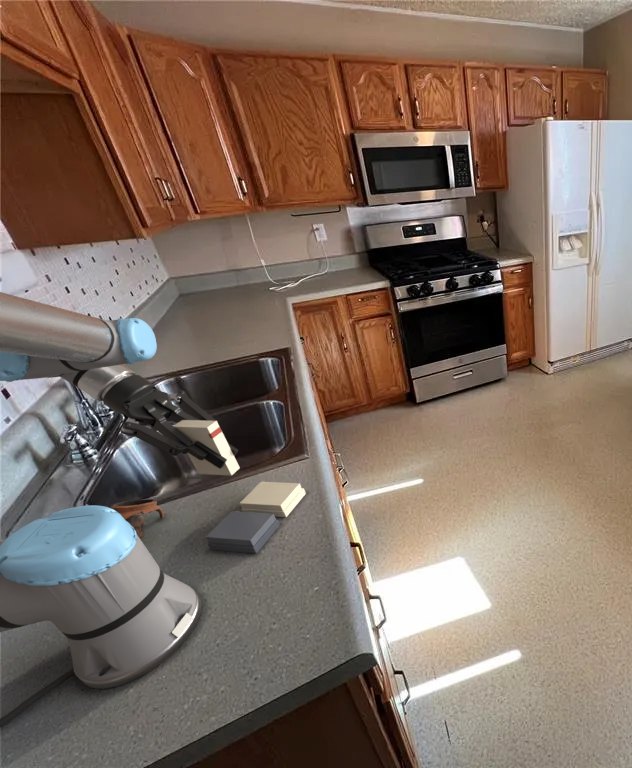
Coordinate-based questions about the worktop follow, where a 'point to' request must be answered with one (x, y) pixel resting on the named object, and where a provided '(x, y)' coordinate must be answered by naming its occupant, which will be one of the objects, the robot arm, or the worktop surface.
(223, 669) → the worktop surface
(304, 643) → the worktop surface
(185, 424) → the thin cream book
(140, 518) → the brown footed bowl
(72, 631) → the robot arm
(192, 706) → the worktop surface
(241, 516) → the grey books
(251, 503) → the cream books
